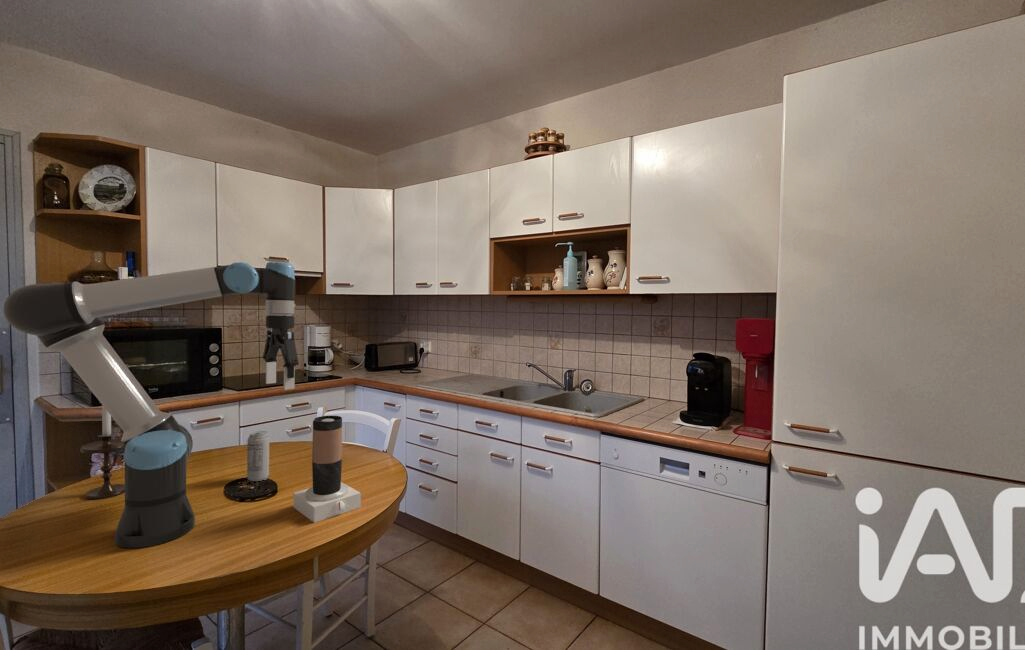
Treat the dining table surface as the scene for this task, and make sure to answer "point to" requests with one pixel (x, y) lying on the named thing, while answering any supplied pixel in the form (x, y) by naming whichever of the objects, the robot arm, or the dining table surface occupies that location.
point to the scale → (326, 503)
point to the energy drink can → (258, 456)
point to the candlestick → (105, 460)
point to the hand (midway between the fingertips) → (279, 386)
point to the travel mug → (327, 454)
